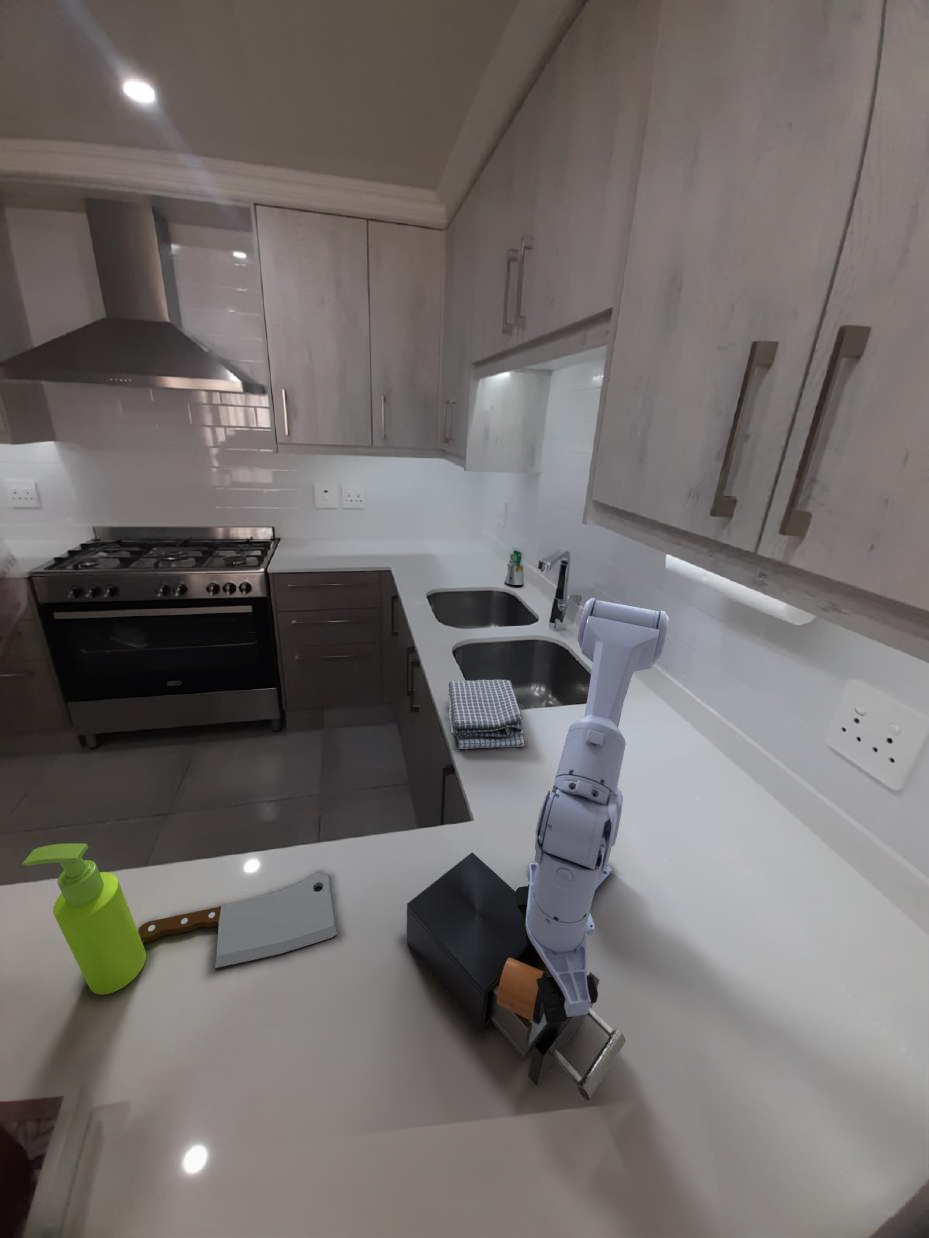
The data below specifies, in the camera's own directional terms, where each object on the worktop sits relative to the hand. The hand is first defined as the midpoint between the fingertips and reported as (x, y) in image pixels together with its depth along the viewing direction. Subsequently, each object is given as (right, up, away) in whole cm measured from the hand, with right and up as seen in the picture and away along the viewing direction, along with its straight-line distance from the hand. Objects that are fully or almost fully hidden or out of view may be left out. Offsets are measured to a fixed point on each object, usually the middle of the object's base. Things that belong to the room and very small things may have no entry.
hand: (544, 978), depth 54 cm
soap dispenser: (-52, -3, +6) cm, 52 cm away
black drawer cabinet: (-8, -4, +10) cm, 13 cm away
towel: (-5, +16, +55) cm, 57 cm away
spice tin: (-5, +1, -1) cm, 5 cm away
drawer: (0, -6, +3) cm, 7 cm away
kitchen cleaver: (-39, -2, +11) cm, 40 cm away
